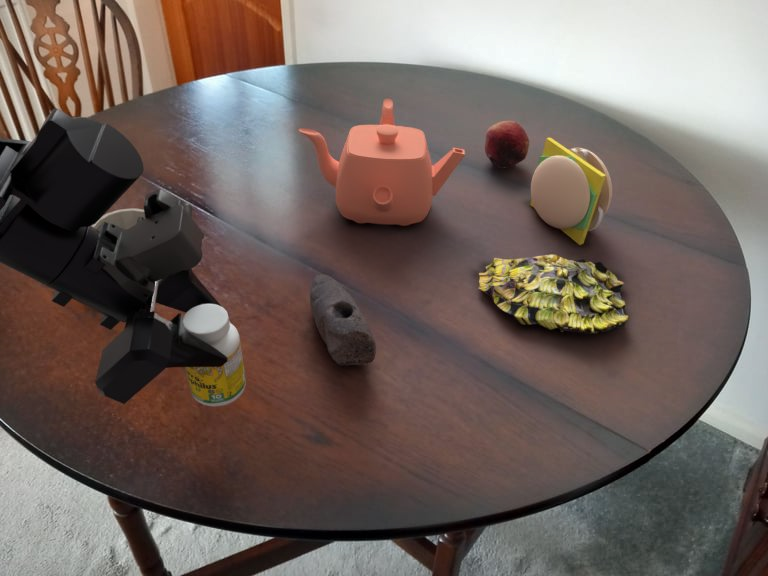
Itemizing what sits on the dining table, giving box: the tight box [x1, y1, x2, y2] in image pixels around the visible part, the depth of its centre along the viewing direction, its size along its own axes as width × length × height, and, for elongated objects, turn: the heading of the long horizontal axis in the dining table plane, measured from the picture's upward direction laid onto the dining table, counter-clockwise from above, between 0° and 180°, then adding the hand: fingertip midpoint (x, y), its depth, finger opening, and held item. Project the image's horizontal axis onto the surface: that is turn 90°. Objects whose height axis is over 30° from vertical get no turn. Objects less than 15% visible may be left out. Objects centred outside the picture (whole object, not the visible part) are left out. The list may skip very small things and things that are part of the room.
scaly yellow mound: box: [478, 254, 630, 335], centre depth 84 cm, size 20×16×7 cm
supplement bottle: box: [182, 304, 247, 407], centre depth 59 cm, size 5×5×10 cm
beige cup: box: [92, 207, 145, 230], centre depth 84 cm, size 9×9×6 cm
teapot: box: [298, 98, 466, 227], centre depth 94 cm, size 18×18×14 cm
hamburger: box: [529, 137, 613, 246], centre depth 95 cm, size 12×8×12 cm
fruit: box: [484, 120, 530, 169], centre depth 108 cm, size 8×8×8 cm
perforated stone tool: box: [309, 273, 377, 367], centre depth 75 cm, size 15×5×7 cm, turn 22°
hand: (225, 340), depth 58 cm, fingers closed on supplement bottle, 5 cm apart
